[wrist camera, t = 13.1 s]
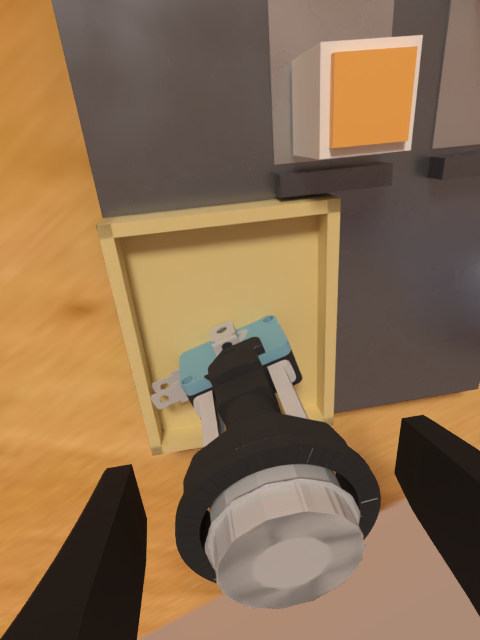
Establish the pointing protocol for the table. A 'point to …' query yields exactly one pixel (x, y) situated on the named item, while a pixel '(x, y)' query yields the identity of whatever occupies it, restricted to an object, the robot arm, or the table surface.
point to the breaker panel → (302, 159)
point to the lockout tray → (224, 294)
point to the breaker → (355, 97)
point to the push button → (265, 475)
